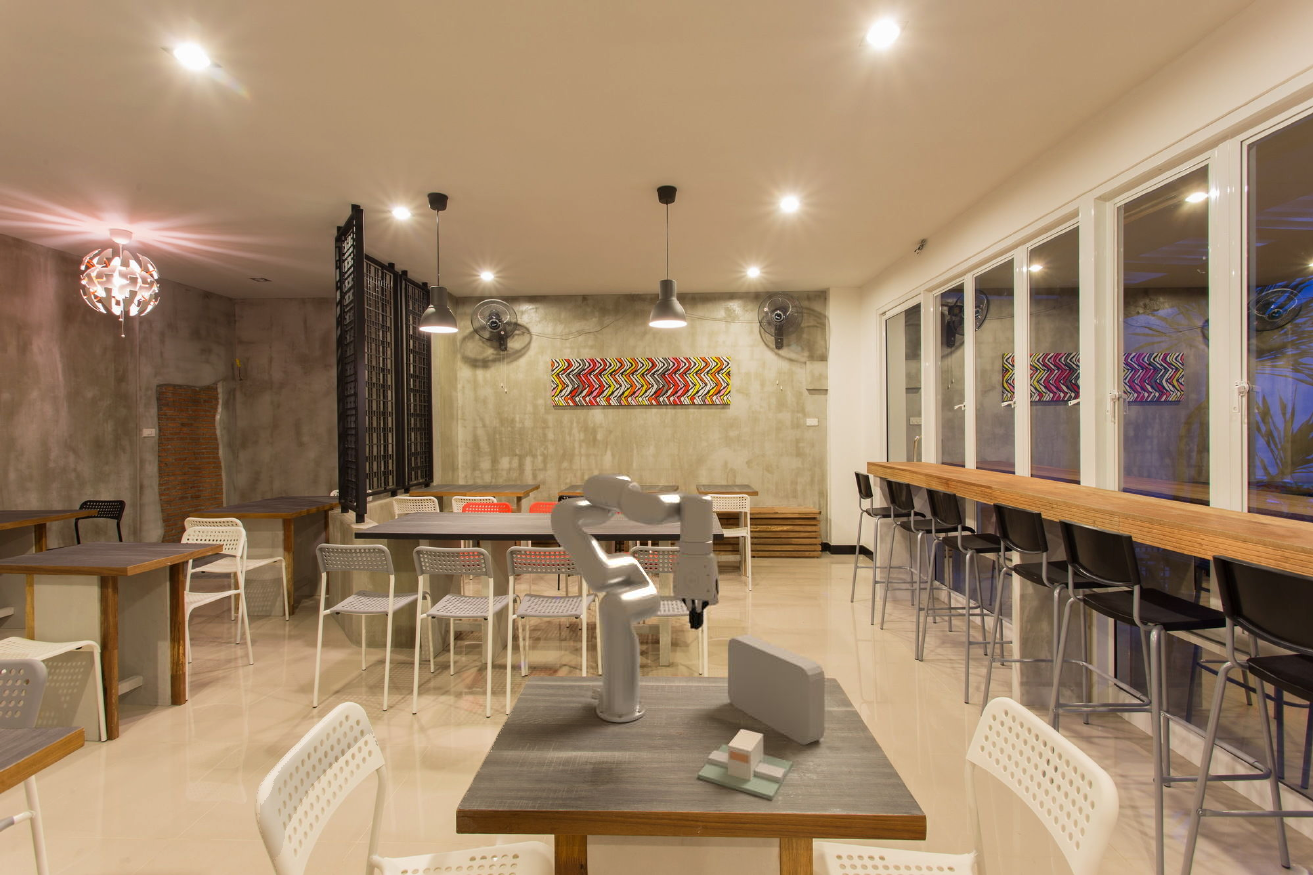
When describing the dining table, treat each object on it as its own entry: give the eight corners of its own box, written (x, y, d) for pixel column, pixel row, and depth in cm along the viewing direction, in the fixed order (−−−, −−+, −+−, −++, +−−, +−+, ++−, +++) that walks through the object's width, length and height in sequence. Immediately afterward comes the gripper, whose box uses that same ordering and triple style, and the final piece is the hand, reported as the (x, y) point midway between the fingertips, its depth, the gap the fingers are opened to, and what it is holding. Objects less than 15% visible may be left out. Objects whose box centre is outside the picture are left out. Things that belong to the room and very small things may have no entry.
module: (727, 774, 125) (727, 745, 125) (741, 756, 132) (741, 728, 132) (750, 780, 123) (750, 751, 123) (763, 761, 130) (763, 734, 130)
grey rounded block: (831, 739, 141) (831, 663, 141) (808, 749, 137) (809, 670, 137) (748, 696, 165) (749, 630, 165) (727, 702, 161) (727, 635, 161)
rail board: (698, 777, 125) (698, 769, 125) (723, 747, 138) (723, 739, 138) (772, 800, 118) (772, 790, 118) (792, 765, 130) (792, 757, 130)
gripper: (660, 547, 139) (659, 627, 139) (720, 553, 132) (720, 637, 132) (674, 542, 146) (674, 618, 146) (732, 548, 138) (732, 628, 138)
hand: (696, 627), depth 139 cm, fingers closed
